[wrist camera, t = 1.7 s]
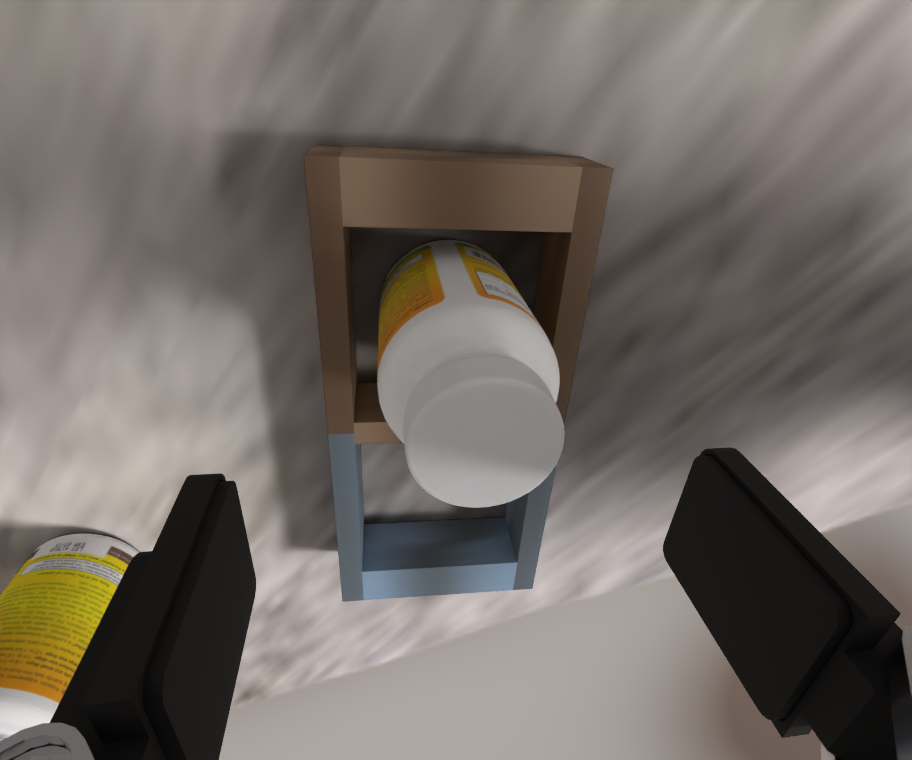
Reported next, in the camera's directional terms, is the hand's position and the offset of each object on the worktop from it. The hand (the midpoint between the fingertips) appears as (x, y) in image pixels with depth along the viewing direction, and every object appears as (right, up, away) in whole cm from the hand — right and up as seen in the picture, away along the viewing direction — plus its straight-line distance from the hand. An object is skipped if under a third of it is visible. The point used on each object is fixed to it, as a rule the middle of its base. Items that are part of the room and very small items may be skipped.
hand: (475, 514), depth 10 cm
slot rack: (-1, +2, +12) cm, 13 cm away
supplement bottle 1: (-18, -7, +15) cm, 25 cm away
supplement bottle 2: (-1, +6, +10) cm, 12 cm away
